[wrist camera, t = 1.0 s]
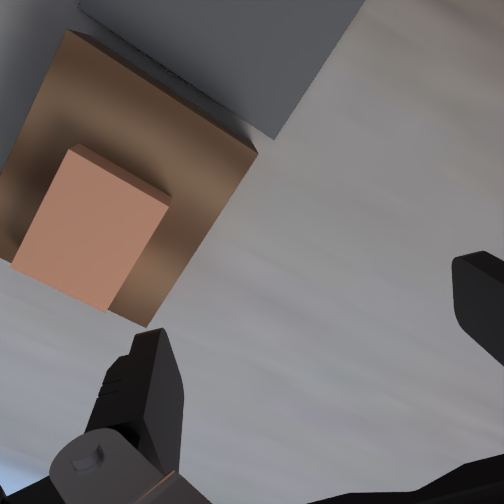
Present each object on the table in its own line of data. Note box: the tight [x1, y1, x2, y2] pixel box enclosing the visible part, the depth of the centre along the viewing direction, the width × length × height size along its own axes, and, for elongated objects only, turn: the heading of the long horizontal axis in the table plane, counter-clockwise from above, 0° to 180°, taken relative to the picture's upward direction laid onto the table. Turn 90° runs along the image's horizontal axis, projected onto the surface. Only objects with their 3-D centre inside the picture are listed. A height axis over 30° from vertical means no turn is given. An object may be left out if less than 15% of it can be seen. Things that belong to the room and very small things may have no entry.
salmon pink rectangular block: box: [10, 143, 172, 312], centre depth 26 cm, size 8×6×2 cm
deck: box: [0, 29, 258, 328], centre depth 28 cm, size 14×12×4 cm
